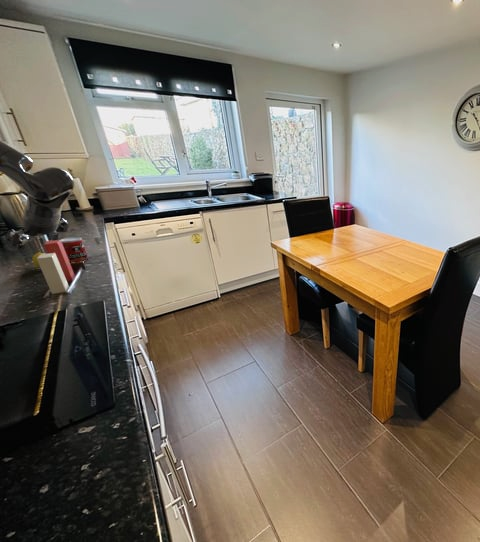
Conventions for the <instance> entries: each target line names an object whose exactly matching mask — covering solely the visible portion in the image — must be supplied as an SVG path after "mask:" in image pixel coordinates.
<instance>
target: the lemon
mask: <svg viewBox="0 0 480 542" xmlns="http://www.w3.org/2000/svg"><path fill="white" fill-rule="evenodd" d="M41 254H45V253H44V252H37V253H35V254H34V255H33V256H32V264H33V265H34V266H35V267H36V268H39V269H41V268H40V265H39V263H38V261H37V258H38V257H39V256H40V255H41Z"/></svg>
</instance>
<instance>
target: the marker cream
mask: <svg viewBox="0 0 480 542" xmlns="http://www.w3.org/2000/svg"><path fill="white" fill-rule="evenodd" d="M37 261H38V263H39V265H40V268H39V269H40V270H41V272H42V274H43V276H44V279H45V281H46V283H47V285H48V287H49V288H50V289H49V288H48V289H49V290H51V293H52V294H53V295H54V294H55V293H61V292H62V293H63V292H64V293H65V292H66V291H67V289H68V288H69V286H70V284H69V282H68V283H67V280H66V278H65V276H64V273H63V271H62V268H61V266H60V263H59V261H58V259H57V256H56V254H55V253H49V254H48V253H44V254H41V255H40V256H39V257H38V258H37ZM62 293H61V294H62Z"/></svg>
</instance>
